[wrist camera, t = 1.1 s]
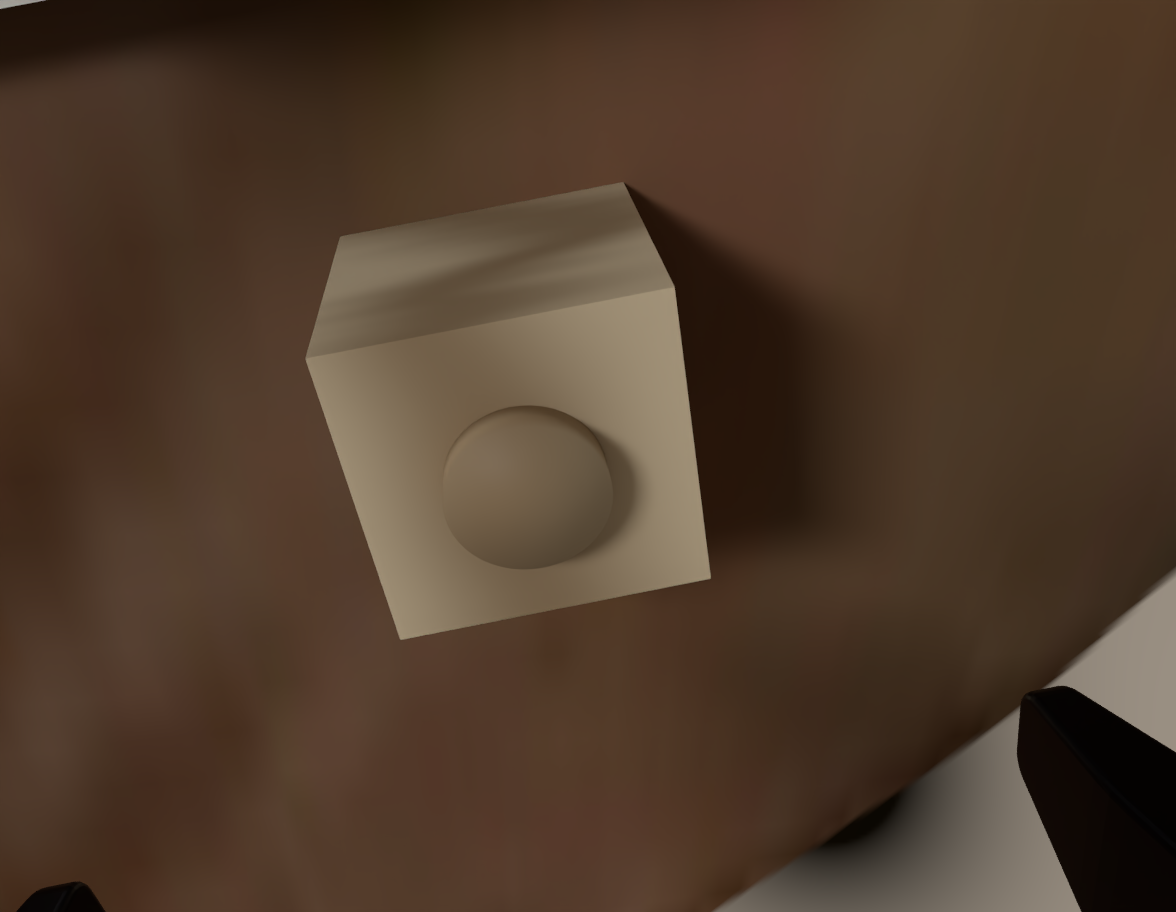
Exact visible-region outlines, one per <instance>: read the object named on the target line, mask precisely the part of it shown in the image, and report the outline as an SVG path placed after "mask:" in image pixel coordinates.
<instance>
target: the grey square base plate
mask: <svg viewBox="0 0 1176 912" xmlns="http://www.w3.org/2000/svg"><path fill="white" fill-rule="evenodd" d="M39 1H44V0H0V9H2V8H7V7H13V6H18V5H23V4H28V3H34V2H39Z"/></svg>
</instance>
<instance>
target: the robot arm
mask: <svg viewBox="0 0 1176 912" xmlns="http://www.w3.org/2000/svg"><path fill="white" fill-rule="evenodd" d="M1017 758H1018V764H1019V768H1020V771H1021V775H1022V777H1023V780H1024V782H1025V784H1026V786H1027V788H1028V791H1029V793H1030V795H1031V798H1032V800H1033V802H1034V805H1035V807H1036V809H1037V811H1038V814H1039V816H1040V818H1041V821H1042V823H1043V825H1044V828H1045V830H1046V832H1047V834H1048V837H1049V839H1050V841H1051V843H1052V846H1053V848H1054V850H1055V853H1056V855H1057V857H1058V860H1059V862H1060V864H1061V866H1062V869H1063V871H1064V873H1065V875H1066V878H1067V880H1068V882H1069V885H1070V887H1071V889H1072V891H1073V894H1074V896H1075V898H1076V901H1077V903H1078V905H1079V907H1080V909H1081V912H1176V752H1174V751H1173V750H1171V749H1169V748H1168V747H1166V746H1165V745H1163V744H1161V743H1160V742H1158V741H1157V740H1155V739H1154V738H1152V737H1150V736H1149V735H1147V734H1146V733H1144V732H1142V731H1141V730H1139V729H1137V728H1136V727H1134V726H1133V725H1131V724H1129V723H1128V722H1126V721H1125V720H1123V719H1122V718H1120V717H1118V716H1116V715H1115V714H1113V713H1112V712H1110V711H1108V710H1107V709H1106V708H1104V707H1102V706H1101V705H1099V704H1097V703H1096V702H1094V701H1092V700H1091V699H1090V698H1088V697H1086V696H1085V695H1083V694H1082V693H1080V692H1078V691H1077V690H1075V689H1073V688H1070V687H1067V686H1056V687H1051V688H1046V689H1041V690H1036V691H1031V692H1028V693H1026V694H1025V695H1024V697H1023V698H1022V701H1021V706H1020V719H1019V731H1018V745H1017ZM16 912H105V910H104V909H103V907H102V906H101V904H100V903H99V901H98V899H97V898H96V896H95V895H94V893H93V892H92V890H91V889H90V888H89V886H88V885H86V884H84V883H82V882H70V883H65V884H60V885H55V886H50V887H46V888H42V889H40V890H38V891H36V892H35V893H34V894H32V895H31V896H30V897H29V898H28V899H27V900H26V901H25V902H24V903H23V905H22V906H21V907H20V908H19V909H18V910H17V911H16Z"/></svg>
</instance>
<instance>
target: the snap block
mask: <svg viewBox="0 0 1176 912" xmlns="http://www.w3.org/2000/svg"><path fill="white" fill-rule="evenodd" d="M305 359H306V362H307V365H308V368H309V371H310V374H311V377H312V380H313V383H314V386H315V388H316V391H317V394H318V397H319V400H320V403H321V406H322V409H323V412H324V415H325V418H326V421H327V424H328V427H329V430H330V433H331V436H332V439H333V442H334V445H335V448H336V451H337V454H338V457H339V459H340V462H341V465H342V468H343V471H344V474H345V477H346V480H347V483H348V486H349V489H350V492H351V495H352V498H353V501H354V504H355V507H356V510H357V513H358V516H359V519H360V522H361V525H362V528H363V531H364V533H365V536H366V539H367V542H368V545H369V548H370V551H371V554H372V557H373V560H374V563H375V566H376V569H377V572H378V575H379V578H380V581H381V584H382V587H383V590H384V593H385V596H386V599H387V602H388V604H389V607H390V610H391V613H392V616H393V619H394V622H395V625H396V628H397V631H398V634H399V637H400V640H403V639H408V638H413V637H418V636H423V635H428V634H433V633H438V632H443V631H448V630H453V629H458V628H463V627H468V626H473V625H478V624H484V623H489V622H494V621H499V620H504V619H509V618H514V617H519V616H524V615H529V614H534V613H539V612H544V611H549V610H554V609H559V608H564V607H570V606H575V605H580V604H585V603H590V602H595V601H600V600H605V599H610V598H615V597H620V596H625V595H630V594H635V593H640V592H645V591H650V590H656V589H661V588H666V587H671V586H676V585H681V584H686V583H691V582H696V581H701V580H706V579H711V575H710V567H709V559H708V551H707V543H706V535H705V527H704V519H703V511H702V503H701V495H700V487H699V479H698V471H697V463H696V455H695V447H694V438H693V430H692V422H691V414H690V406H689V398H688V390H687V382H686V374H685V366H684V358H683V350H682V342H681V334H680V326H679V318H678V310H677V302H676V294H675V287H674V285H673V282H672V280H671V278H670V276H669V274H668V272H667V270H666V268H665V266H664V264H663V262H662V260H661V258H660V256H659V254H658V252H657V250H656V248H655V246H654V244H653V242H652V240H651V238H650V236H649V233H648V231H647V229H646V227H645V225H644V223H643V221H642V219H641V217H640V215H639V213H638V211H637V209H636V207H635V205H634V203H633V201H632V199H631V197H630V195H629V193H628V191H627V189H626V187H625V185H624V182H621V183H616V184H611V185H606V186H600V187H595V188H590V189H585V190H580V191H574V192H569V193H564V194H559V195H554V196H549V197H543V198H538V199H533V200H528V201H523V202H517V203H512V204H507V205H502V206H497V207H491V208H486V209H481V210H476V211H471V212H466V213H460V214H455V215H450V216H445V217H440V218H434V219H429V220H424V221H419V222H414V223H408V224H403V225H398V226H393V227H388V228H382V229H377V230H372V231H367V232H362V233H357V234H351V235H346V236H341V237H340V239H339V243H338V246H337V250H336V253H335V257H334V260H333V264H332V267H331V271H330V274H329V278H328V281H327V285H326V288H325V292H324V295H323V299H322V302H321V306H320V309H319V313H318V316H317V320H316V323H315V327H314V330H313V334H312V337H311V341H310V344H309V348H308V351H307V355H306V358H305Z"/></svg>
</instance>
